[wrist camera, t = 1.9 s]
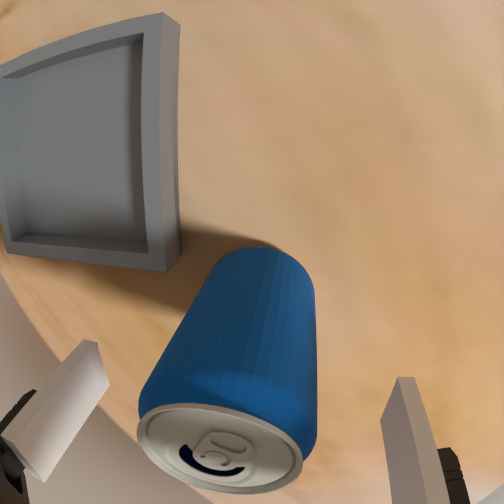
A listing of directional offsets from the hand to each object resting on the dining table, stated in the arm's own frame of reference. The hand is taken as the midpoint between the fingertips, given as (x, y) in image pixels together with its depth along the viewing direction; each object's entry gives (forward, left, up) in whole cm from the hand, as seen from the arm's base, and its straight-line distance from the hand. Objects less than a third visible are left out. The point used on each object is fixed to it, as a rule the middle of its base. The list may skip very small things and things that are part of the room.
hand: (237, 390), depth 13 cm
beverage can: (0, 0, -8) cm, 8 cm away
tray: (-9, -12, -8) cm, 17 cm away
